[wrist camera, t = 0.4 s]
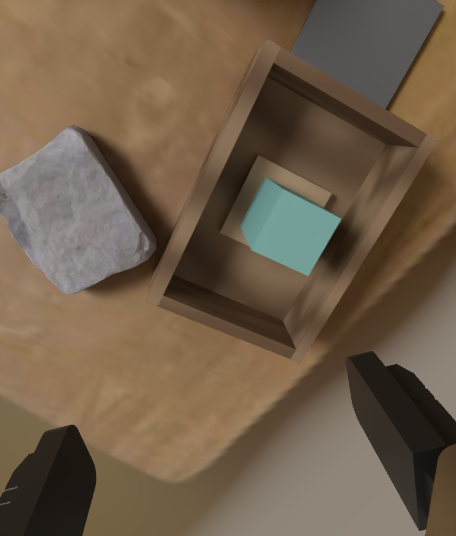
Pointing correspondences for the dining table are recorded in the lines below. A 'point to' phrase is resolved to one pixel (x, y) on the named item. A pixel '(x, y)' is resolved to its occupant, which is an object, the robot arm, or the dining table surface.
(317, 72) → the crate
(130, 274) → the dining table surface
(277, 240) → the block
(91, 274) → the stone block
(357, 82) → the mat
